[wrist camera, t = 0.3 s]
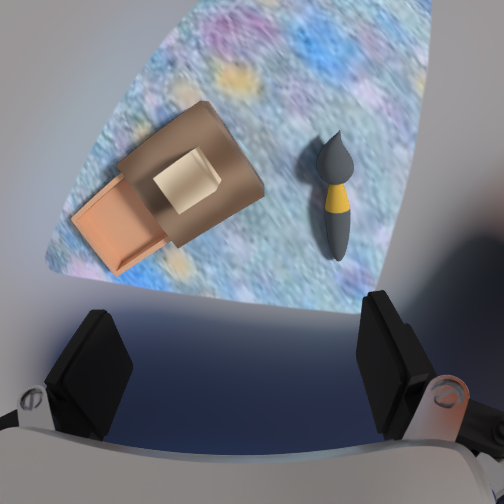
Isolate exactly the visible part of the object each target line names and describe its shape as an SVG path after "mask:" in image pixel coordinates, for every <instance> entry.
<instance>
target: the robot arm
mask: <svg viewBox="0 0 504 504" xmlns="http://www.w3.org/2000/svg"><path fill="white" fill-rule="evenodd" d="M356 359H357V363H358V365H359V370H360V373H361V376H362V379H363V383H364V386H365V389H366V393H367V396H368V400H369V403H370V407H371V410H372V414H373V418H374V421H375V425H376V429H377V432H378V433H379V434H380V433H383V436H384V440H389V439H394V441H386V442H380V443H374V444H367V445H361V446H354V447H349V448H341V449H334V450H325V451H315V452H306V453H294V454H280V455H252V456H230V455H229V456H227V455H201V454H186V453H173V452H164V451H156V450H148V449H140V448H134V447H128V446H122V445H116V444H111V443H105V442H102V441H103V438H104V436H106V435H107V434H108V432H109V429H110V427H111V424H112V421H113V419H114V416H115V414H116V411H117V409H118V406H119V403H120V401H121V398H122V395H123V393H124V390H125V388H126V386H127V383H128V381H129V378H130V376H131V373H132V371H133V363H132V361H131V358H130V357H129V354H128V352H127V350H126V348H125V346H124V344H123V341H122V339H121V337H120V335H119V332H118V330H117V328H116V326H115V323H114V321H113V319H112V316H111V315H110V314H109V313H107V311H106V310H91V311H90V312H89V314H88V315H87V316H86V318H85V319H84V321H83V322H82V324H81V325H80V327H79V328H78V329H77V331H76V333H75V334H74V335H73V337H72V338H71V340H70V341H69V343H68V345H67V346H66V347H65V349H64V351H63V352H62V354H61V355H60V357H59V358H58V360H57V361H56V363H55V365H54V366H53V368H52V369H51V371H50V373H49V374H48V376H47V378H46V379H45V381H44V382H45V384H46V385H47V388H46V389H44V388H43V387H42V386H39V385H34V386H31V387H28V388H27V389H25V390H24V391H23V392H22V393H21V394H20V396H19V398H18V400H17V409H16V410H14V411H12V412H10V413H8V414H6V415H4V416H2V417H0V504H504V412H503V411H500V410H497V409H495V408H492V407H489V406H487V405H484V404H482V403H479V402H477V401H474V400H471V399H469V391H468V388H467V386H466V385H465V383H463V382H462V381H461V380H460V379H458V378H456V377H454V376H449V375H442V376H439V377H438V376H437V374H436V372H435V371H434V368H433V366H432V364H431V363H430V360H429V359H428V357H427V355H426V353H425V351H424V349H423V347H422V346H421V344H420V342H419V340H418V338H417V336H416V334H415V333H414V331H413V329H412V327H411V326H410V325H409V324H408V323H405V324H404V323H403V322H402V320H401V318H400V316H399V314H398V313H397V311H396V309H395V308H394V306H393V304H392V302H391V300H390V299H389V297H388V295H387V294H386V292H385V291H384V290H381V291H373V292H369V293H368V295H367V296H366V297H363V301H362V310H361V319H360V327H359V334H358V342H357V349H356ZM88 438H89V439H88ZM488 482H489V483H488ZM491 489H492V490H493V491H494V493H495V494H496V499H497V500H496V503H495V500H494V497H493V494H492V491H491Z"/></svg>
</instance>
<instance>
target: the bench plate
mask: <svg viewBox="0 0 504 504" xmlns="http://www.w3.org/2000/svg"><path fill="white" fill-rule="evenodd" d="M198 146H199V148H200V149H201V151H202V152H203V154H204V155H205V157H206V158H207V159H208V161H209V162H210V164H211V165H212V167H213V168H214V170H215V171H216V173H217V174H218V175H219V177H220V178H221V182H220V184H219V186H218V188H217V190H216V191H215V192H213V193H212V194H210V195H208V196H207V197H205V198H204V199H202V200H201V201H199V202H198V203H196V204H195V205H193V206H191V207H190V208H188V209H187V210H185V211H184V212H182V213H181V214H178V212H177V211H176V210H175V208H174V207H173V206H172V204H171V203H170V202H169V200H168V199H167V197H166V196H165V195H164V193H163V192H162V190H161V189H160V188H159V186H158V185H157V184H156V182H155V181H154V179H153V178H154V177H156V176H157V175H158V174H160V173H161V172H162V171H164V170H165V169H166V168H168V167H169V166H171V165H172V164H173V163H175V162H176V161H178V160H179V159H180V158H182V157H183V156H185V155H186V154H187V153H189V152H190V151H192V150H194V149H195V148H197V147H198ZM116 166H117V167H118V169H119V170H120V171H121V173H122V174H123V176H124V177H125V178H126V180H127V181H128V183H129V184H130V185H131V187H132V188H133V190H134V191H135V192H136V194H137V195H138V196H139V198H140V199H141V201H142V202H143V203H144V205H145V206H146V207H147V209H148V210H149V211H150V213H151V214H152V215H153V217H154V218H155V219H156V221H157V222H158V223H159V225H160V226H161V227H162V229H163V230H164V231H165V233H166V234H167V235H168V237H169V238H170V239H171V241H172V242H173V243H174V244H175V246H176V247H177V248H180V247H181V246H183V245H184V244H186V243H188V242H189V241H191V240H192V239H194V238H196V237H197V236H199V235H201V234H202V233H204V232H205V231H207V230H209V229H210V228H212V227H214V226H215V225H217V224H219V223H220V222H222V221H224V220H225V219H227V218H228V217H230V216H232V215H233V214H235V213H237V212H239V211H240V210H242V209H244V208H245V207H247V206H249V205H250V204H252V203H254V202H255V201H257V200H259V199H261V198H262V197H264V183H263V182H262V180H261V179H260V177H259V176H258V174H257V173H256V171H255V170H254V168H253V166H252V165H251V163H250V162H249V160H248V159H247V157H246V156H245V154H244V153H243V151H242V150H241V148H240V147H239V145H238V144H237V142H236V141H235V139H234V138H233V136H232V135H231V133H230V132H229V130H228V129H227V127H226V126H225V124H224V123H223V121H222V120H221V118H220V117H219V116H218V114H217V113H216V111H215V110H214V108H213V107H212V105H211V104H210V102H208V101H199V102H198V103H196V104H195V105H194V106H192V107H191V108H189V109H188V110H186V111H185V112H183V113H182V114H181V115H179V116H178V117H176V118H175V119H174V120H172V121H171V122H170V123H168V124H167V125H166V126H164V127H163V128H162V129H160V130H159V131H158V132H156V133H155V134H154V135H152V136H151V137H150V138H149V139H147V140H146V141H145V142H144V143H142V144H141V145H140V146H139V147H137V148H136V149H135V150H134V151H133V152H131V153H130V154H129V155H128V156H127V157H125V158H124V159H123V160H122V161H121V162H119V163H118V164H117V165H116Z"/></svg>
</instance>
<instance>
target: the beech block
mask: <svg viewBox="0 0 504 504" xmlns="http://www.w3.org/2000/svg"><path fill="white" fill-rule="evenodd" d="M153 179H154V181H155V182H156V184H157V185H158V186H159V188H160V189H161V190H162V192H163V193H164V195H165V196H166V197H167V199H168V200H169V202H170V203H171V204H172V206H173V207H174V208H175V210H176V211H177V212H178V214H181V213H182V212H184V211H185V210H187V209H188V208H190V207H191V206H193V205H195V204H196V203H198V202H199V201H201V200H202V199H204V198H205V197H207V196H208V195H210V194H212V193H213V192H215V191H216V190H217V188H218V186H219V184H220V182H221V178H220V177H219V175H218V174H217V173H216V171H215V170H214V168H213V167H212V165H211V164H210V162H209V161H208V159H207V158H206V157H205V155H204V154H203V152H202V151H201V149H200V148H199V146H198V147H197V148H195V149H194V150H192V151H190V152H189V153H187V154H186V155H185V156H183V157H182V158H180V159H179V160H178V161H176V162H175V163H173V164H172V165H171V166H169V167H168V168H166V169H165V170H164V171H162V172H161V173H160V174H158V175H157V176H156V177H154V178H153Z"/></svg>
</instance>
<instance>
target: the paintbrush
mask: <svg viewBox="0 0 504 504" xmlns="http://www.w3.org/2000/svg"><path fill="white" fill-rule="evenodd" d="M317 170H318V173H319V175H320V176H321V178H322V179H323V180H325V181H326V182H327V183H329V188H328V193H327V198H326V204H325V220H326V229H327V235H328V240H329V245H330V249H331V252H332V254H333V256H334V258H335V259H336V261H341V260H342V259H343V257H344V255H345V252H346V249H347V245H348V240H349V232H350V205H349V201H348V198H347V194H346V191H345V188H344V185H343V183H345V182H346V181H348V180H349V178H350V177H351V176H352V174H353V170H354V164H353V160H352V158H351V156H350V154H349V153H348V151H347V150H346V148H345V147H344V145H343V143H342V141H341V134H340V130H339V132H338V133H337V134H336V135H334V136H333V137H332V138H331V139H330V140H329V141H328V142H327V143H326V144H325V145H324V147H323V148H322V150H321V152H320V154H319V156H318V159H317Z"/></svg>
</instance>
